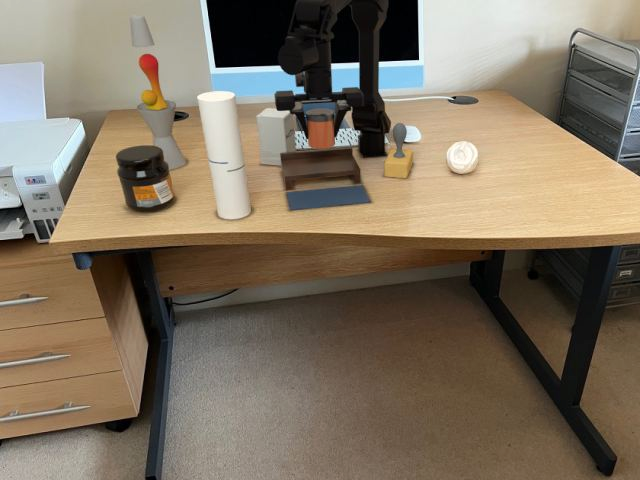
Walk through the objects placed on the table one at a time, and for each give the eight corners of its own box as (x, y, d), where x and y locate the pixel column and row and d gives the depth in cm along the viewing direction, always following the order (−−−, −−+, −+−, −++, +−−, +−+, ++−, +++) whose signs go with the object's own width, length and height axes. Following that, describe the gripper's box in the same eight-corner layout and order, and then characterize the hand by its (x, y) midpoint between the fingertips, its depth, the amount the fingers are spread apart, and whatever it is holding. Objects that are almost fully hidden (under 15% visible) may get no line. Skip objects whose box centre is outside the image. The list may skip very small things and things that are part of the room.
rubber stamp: (406, 178, 142) (408, 130, 135) (383, 176, 143) (384, 129, 136) (412, 163, 150) (414, 117, 143) (390, 161, 151) (391, 116, 144)
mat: (362, 186, 138) (362, 185, 138) (370, 202, 130) (370, 201, 130) (286, 193, 134) (286, 191, 134) (290, 210, 127) (290, 208, 127)
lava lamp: (172, 154, 154) (141, 11, 135) (194, 162, 150) (166, 15, 130) (143, 165, 148) (107, 16, 129) (165, 173, 144) (131, 20, 124)
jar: (333, 138, 133) (331, 107, 129) (337, 148, 128) (336, 115, 124) (306, 140, 132) (304, 109, 128) (309, 150, 126) (307, 117, 123)
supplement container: (176, 211, 126) (164, 159, 120) (125, 217, 124) (110, 164, 117) (176, 191, 135) (165, 142, 128) (128, 197, 132) (115, 146, 126)
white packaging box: (288, 166, 148) (283, 117, 141) (260, 164, 149) (254, 115, 142) (297, 156, 154) (293, 108, 147) (271, 154, 155) (265, 107, 148)
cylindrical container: (220, 205, 129) (200, 91, 115) (252, 204, 130) (237, 90, 116) (215, 219, 123) (194, 101, 109) (249, 218, 124) (232, 100, 110)
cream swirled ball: (441, 175, 143) (443, 145, 139) (450, 164, 149) (452, 135, 145) (473, 180, 141) (476, 150, 137) (480, 169, 147) (483, 139, 142)
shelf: (352, 166, 148) (351, 147, 145) (360, 183, 139) (360, 163, 136) (281, 172, 145) (279, 152, 142) (285, 190, 136) (283, 169, 133)
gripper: (354, 54, 128) (356, 124, 137) (269, 58, 125) (276, 129, 134) (364, 66, 119) (365, 139, 128) (273, 70, 116) (280, 145, 125)
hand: (321, 137), depth 129 cm, fingers closed on jar, 6 cm apart
